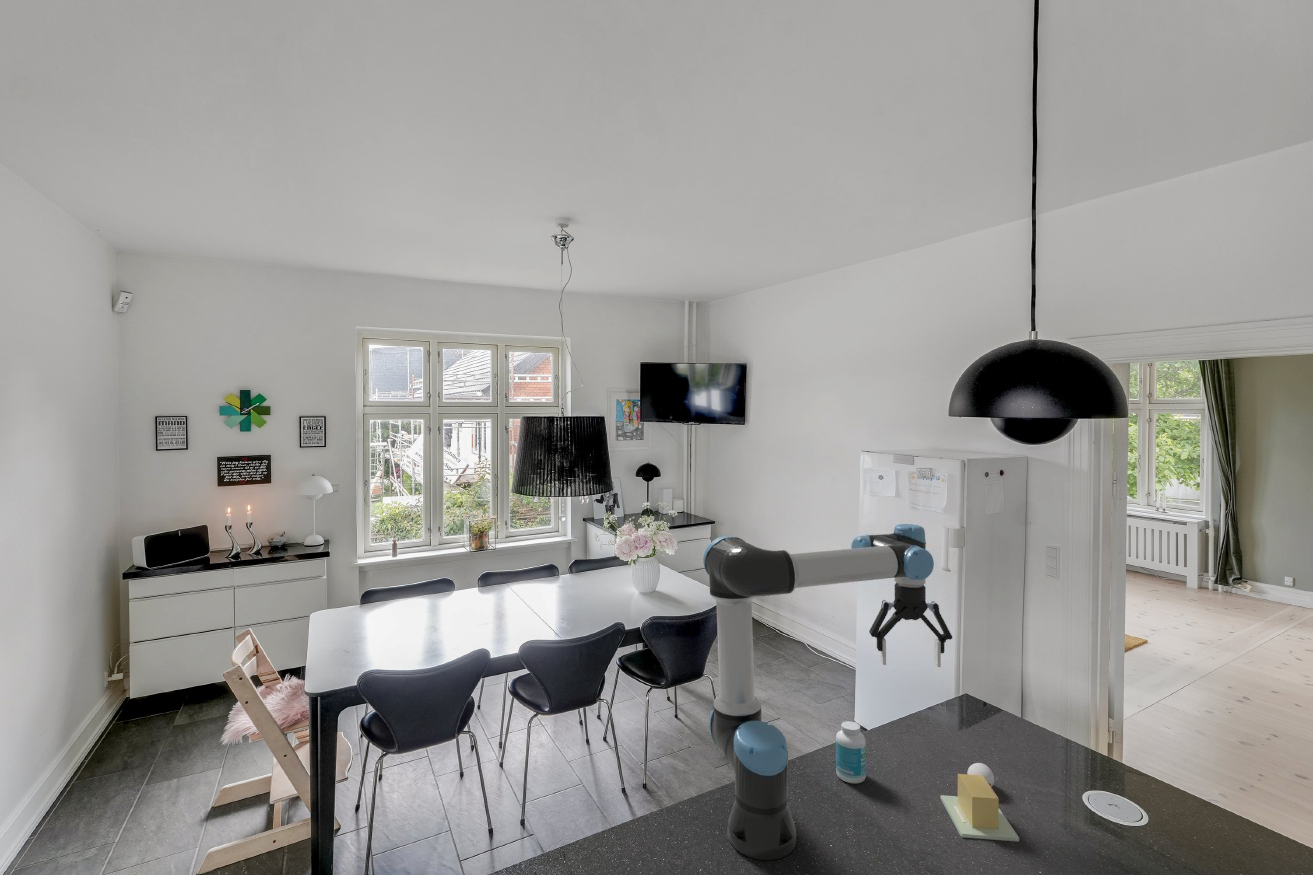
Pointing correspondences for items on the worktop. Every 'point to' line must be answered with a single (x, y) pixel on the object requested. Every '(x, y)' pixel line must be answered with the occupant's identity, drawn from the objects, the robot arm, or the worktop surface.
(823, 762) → the worktop surface
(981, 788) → the tan yellow block
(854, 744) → the pill bottle
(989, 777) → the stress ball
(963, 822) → the board
